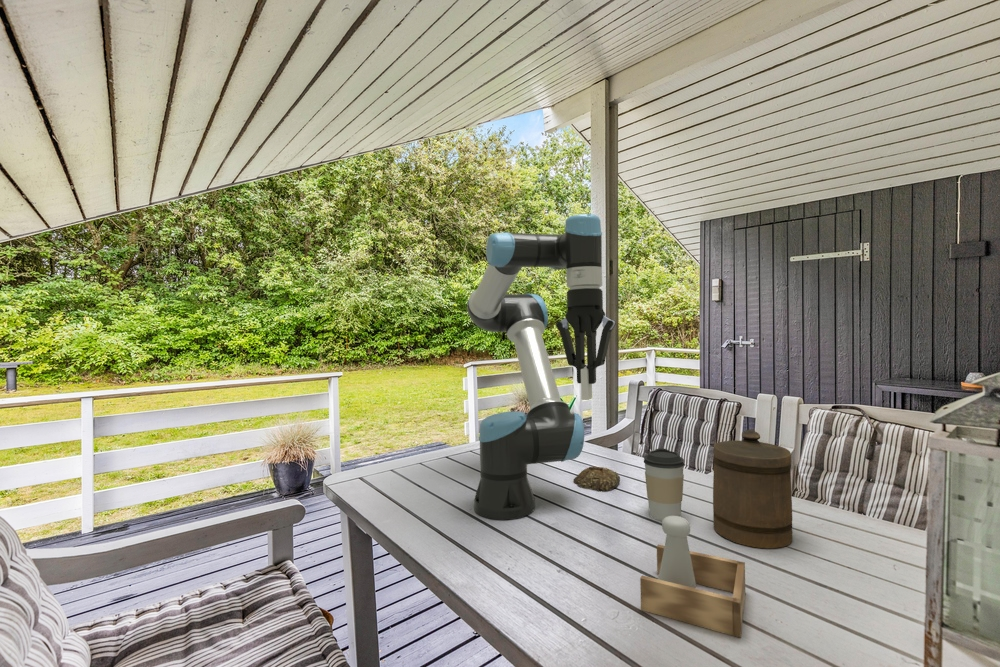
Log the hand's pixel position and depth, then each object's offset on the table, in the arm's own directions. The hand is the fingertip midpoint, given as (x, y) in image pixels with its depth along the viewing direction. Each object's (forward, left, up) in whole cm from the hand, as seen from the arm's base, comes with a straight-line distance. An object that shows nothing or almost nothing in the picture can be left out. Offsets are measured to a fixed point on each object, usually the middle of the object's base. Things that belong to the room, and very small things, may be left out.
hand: (586, 398), depth 100 cm
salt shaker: (+20, -15, -30) cm, 39 cm away
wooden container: (+30, +17, -30) cm, 46 cm away
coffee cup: (+12, +18, -30) cm, 37 cm away
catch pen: (+23, -15, -29) cm, 40 cm away
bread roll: (-10, +33, -30) cm, 46 cm away
